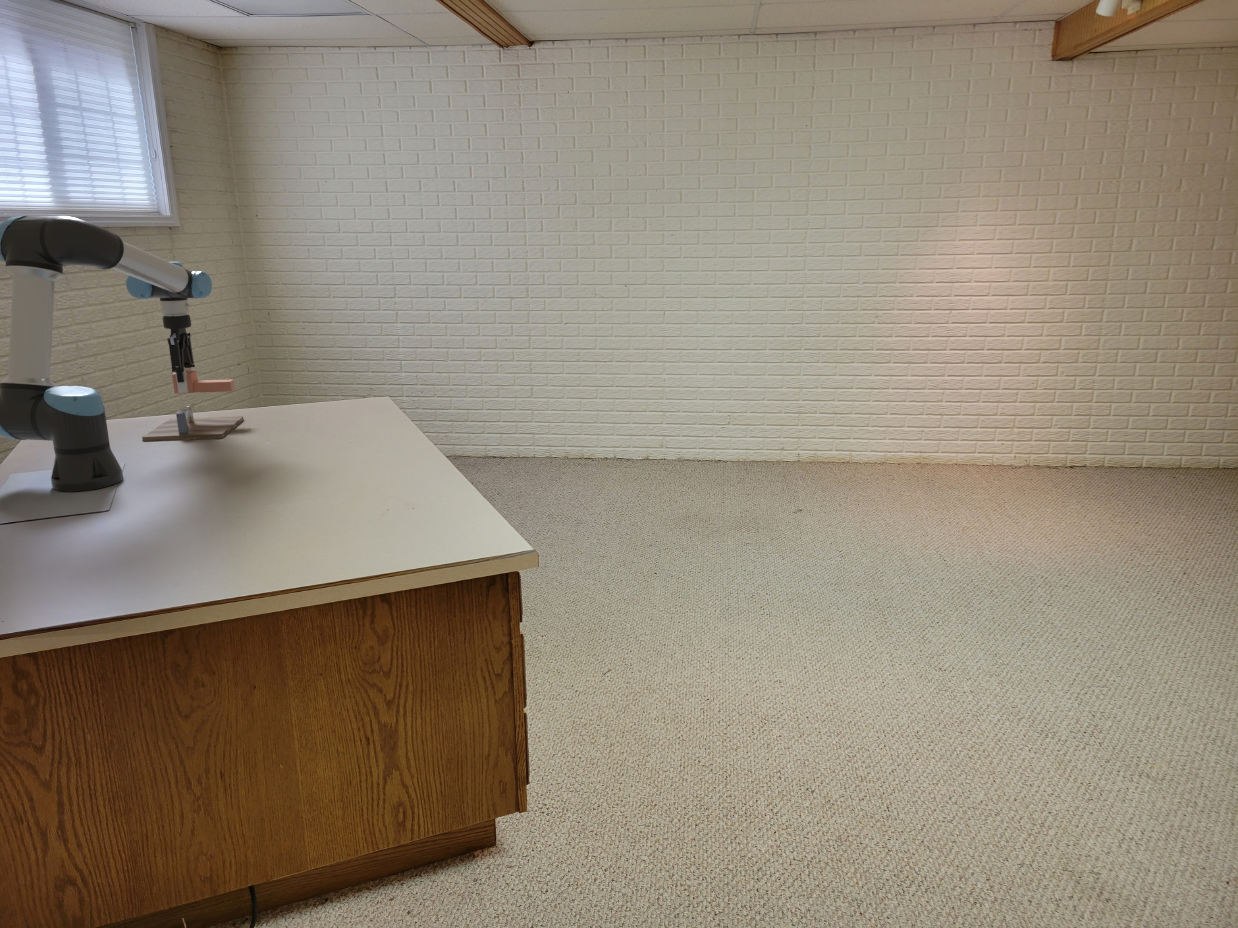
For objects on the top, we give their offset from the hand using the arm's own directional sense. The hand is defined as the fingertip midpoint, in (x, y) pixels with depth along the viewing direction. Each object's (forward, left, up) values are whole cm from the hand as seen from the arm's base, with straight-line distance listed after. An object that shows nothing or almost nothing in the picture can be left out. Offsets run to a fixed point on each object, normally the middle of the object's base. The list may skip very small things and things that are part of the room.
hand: (186, 390), depth 273 cm
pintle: (0, 0, -11) cm, 11 cm away
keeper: (-13, -2, -11) cm, 18 cm away
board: (-6, -3, -11) cm, 13 cm away
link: (0, -5, 0) cm, 6 cm away
